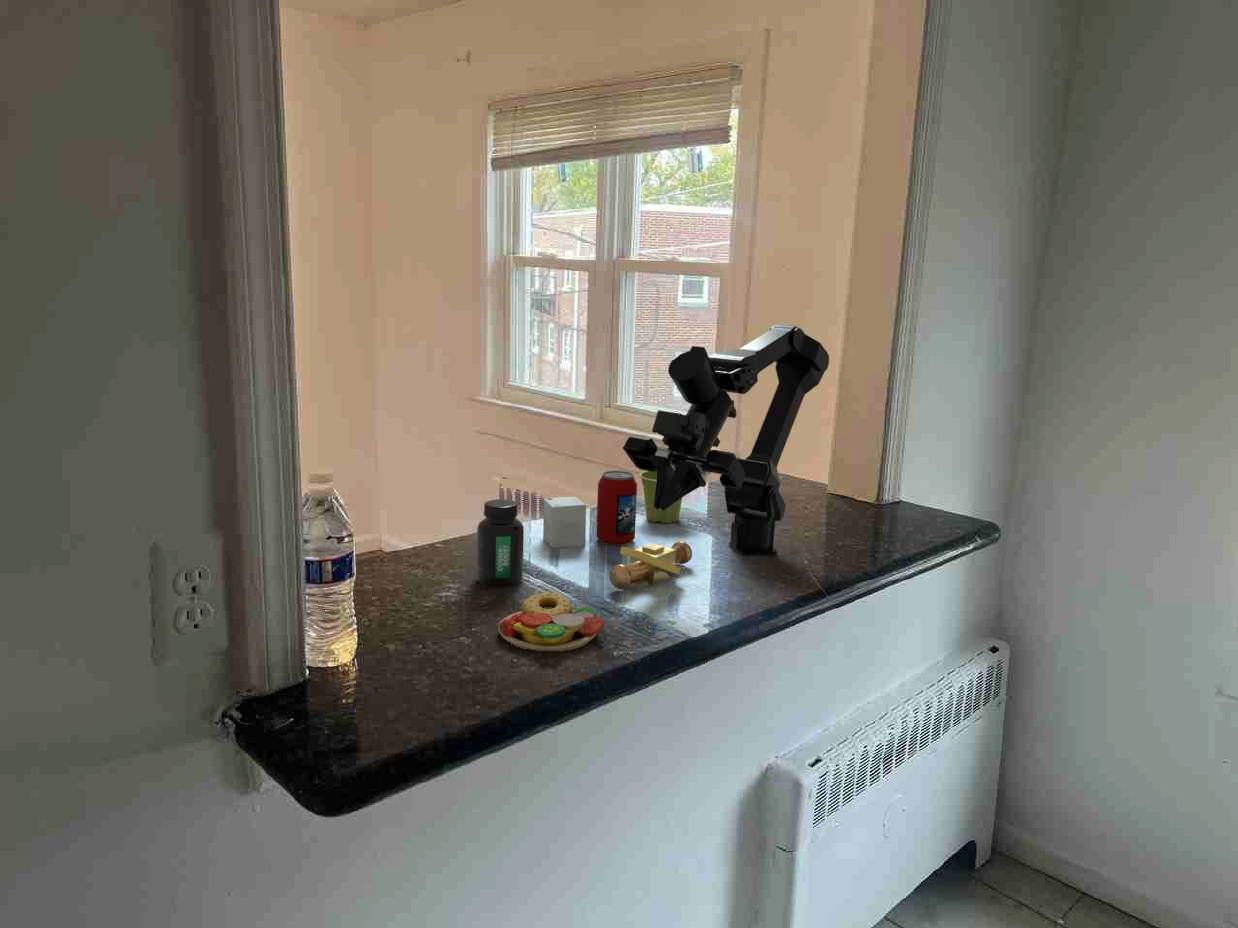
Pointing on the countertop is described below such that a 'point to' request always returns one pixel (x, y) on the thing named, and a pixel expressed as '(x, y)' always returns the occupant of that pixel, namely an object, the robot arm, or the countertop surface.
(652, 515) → the plant pot
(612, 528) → the beverage can
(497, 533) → the supplement bottle
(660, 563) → the lever
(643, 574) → the valve body
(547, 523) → the skincare box
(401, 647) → the countertop surface
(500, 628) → the toy food set
